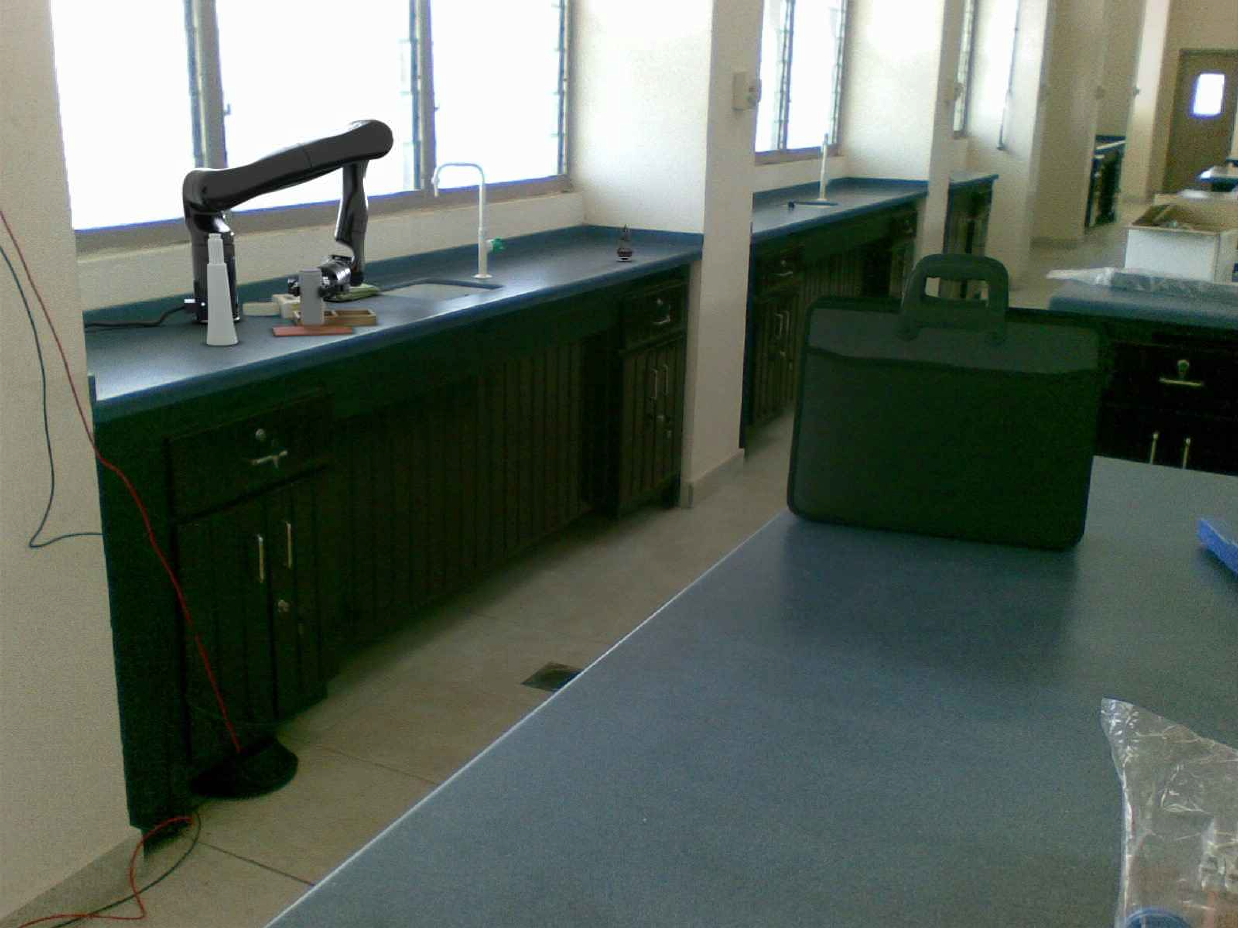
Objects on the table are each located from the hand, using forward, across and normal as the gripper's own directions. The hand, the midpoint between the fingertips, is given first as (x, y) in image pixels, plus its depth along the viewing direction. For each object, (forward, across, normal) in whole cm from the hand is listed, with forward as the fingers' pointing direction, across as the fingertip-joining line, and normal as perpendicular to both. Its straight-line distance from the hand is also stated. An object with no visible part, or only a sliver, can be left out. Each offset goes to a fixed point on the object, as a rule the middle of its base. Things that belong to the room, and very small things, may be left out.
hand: (308, 292), depth 255 cm
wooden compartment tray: (-14, +2, +9) cm, 17 cm away
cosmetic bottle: (+13, -14, +9) cm, 22 cm away
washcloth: (-53, -6, +10) cm, 54 cm away
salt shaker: (-145, +67, +11) cm, 160 cm away
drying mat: (-2, 0, +9) cm, 9 cm away
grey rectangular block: (-3, 0, +8) cm, 8 cm away
